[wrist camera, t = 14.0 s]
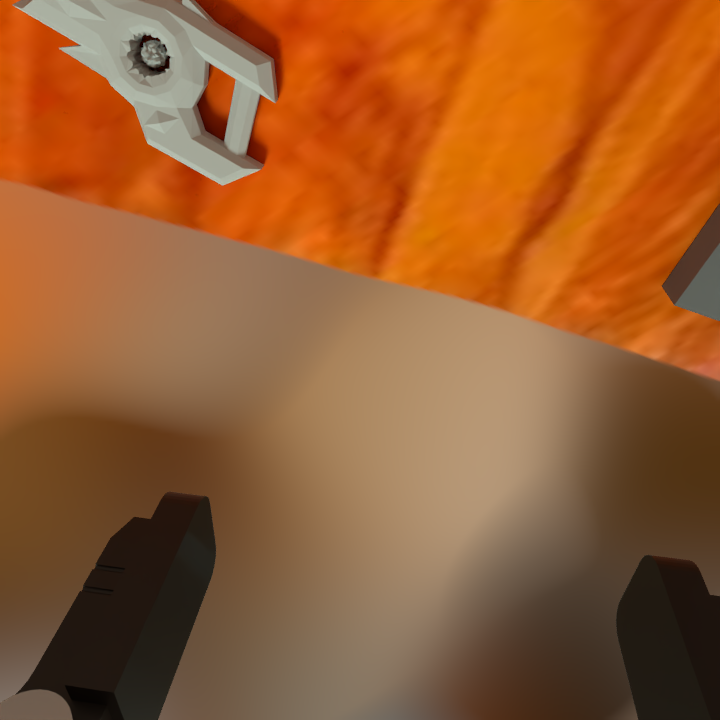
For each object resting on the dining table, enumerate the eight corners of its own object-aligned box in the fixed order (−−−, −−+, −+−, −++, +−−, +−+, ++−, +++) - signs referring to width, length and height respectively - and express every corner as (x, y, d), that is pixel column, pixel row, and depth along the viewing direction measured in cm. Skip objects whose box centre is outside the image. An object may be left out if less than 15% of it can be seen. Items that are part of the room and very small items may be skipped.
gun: (-10, 64, 39) (21, -104, 34) (19, 56, 42) (51, -100, 36) (243, 204, 43) (305, 75, 38) (253, 189, 46) (312, 67, 41)
